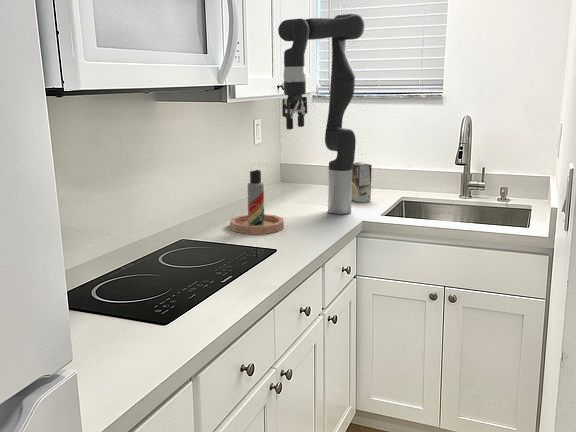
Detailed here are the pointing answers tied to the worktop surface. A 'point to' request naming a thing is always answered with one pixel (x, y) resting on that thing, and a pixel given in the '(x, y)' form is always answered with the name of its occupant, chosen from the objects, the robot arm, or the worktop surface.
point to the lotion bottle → (255, 199)
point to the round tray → (270, 226)
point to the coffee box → (361, 182)
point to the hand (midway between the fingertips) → (295, 128)
